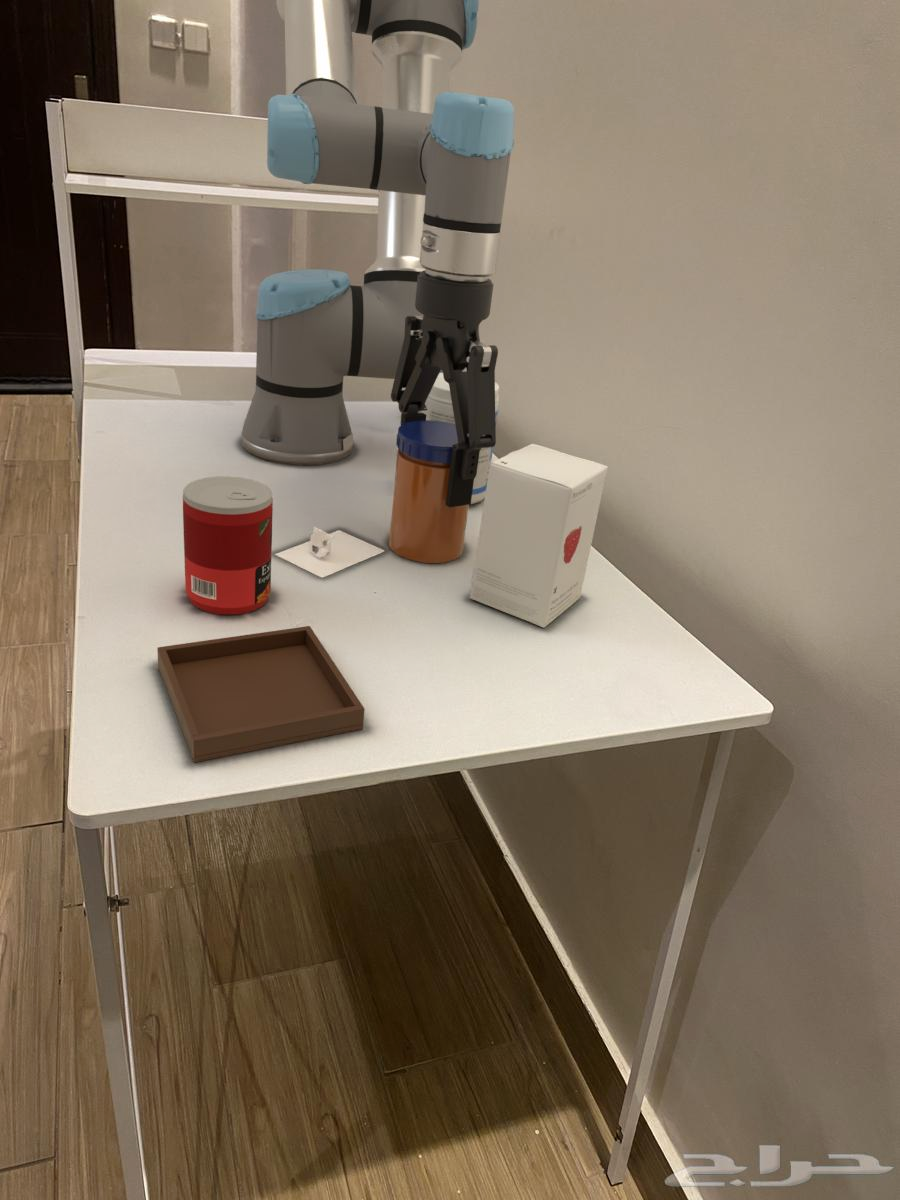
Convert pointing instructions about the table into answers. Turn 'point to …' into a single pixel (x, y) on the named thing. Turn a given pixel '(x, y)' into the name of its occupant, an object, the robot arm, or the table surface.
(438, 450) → the lid
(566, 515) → the rectangular carton
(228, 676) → the tray
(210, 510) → the canned food
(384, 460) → the table surface
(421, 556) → the jar
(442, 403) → the supplement tub
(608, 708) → the table surface
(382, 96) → the robot arm
